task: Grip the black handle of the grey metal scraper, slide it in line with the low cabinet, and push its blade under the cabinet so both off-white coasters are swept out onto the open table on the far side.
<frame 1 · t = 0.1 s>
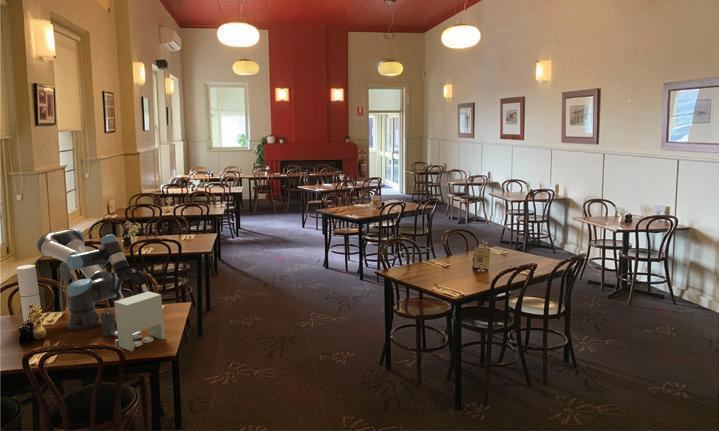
hand: (136, 299, 292), 15 cm above the table, tool tilted 35°, fingers open, 13 cm apart
container: (33, 321, 310), on the table
scraper: (109, 334, 288), on the table
coaster 1: (136, 345, 274), on the table
cabinet: (142, 342, 276), on the table
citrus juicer: (70, 315, 318), on the table, touching arm
coaster 2: (148, 341, 279), on the table
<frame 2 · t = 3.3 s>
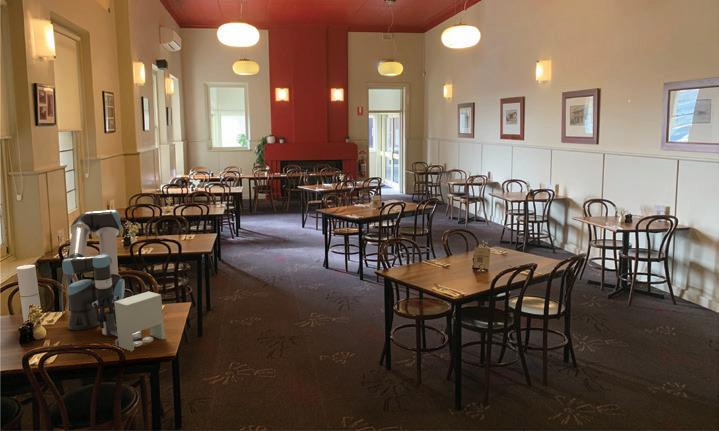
hand: (109, 332, 288), 1 cm above the table, tool pointing down, fingers closed on scraper, 4 cm apart
scraper: (109, 334, 288), on the table, touching gripper
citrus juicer: (70, 315, 318), on the table
everything else where it was.
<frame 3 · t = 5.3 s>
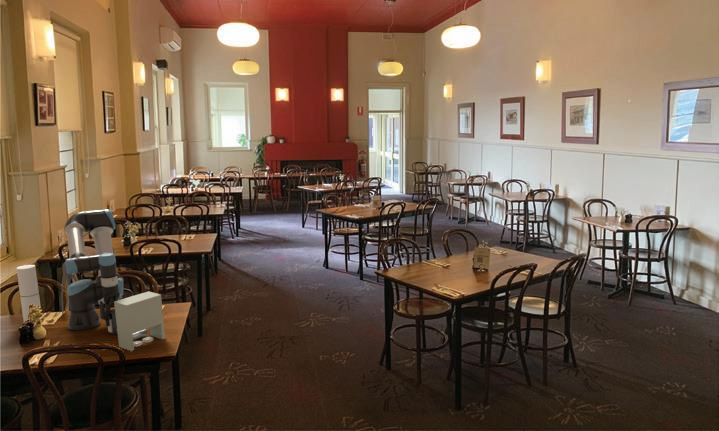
hand: (114, 330, 290), 1 cm above the table, tool pointing down, fingers closed on scraper, 4 cm apart
scraper: (115, 332, 290), on the table, touching gripper
everything else where it was.
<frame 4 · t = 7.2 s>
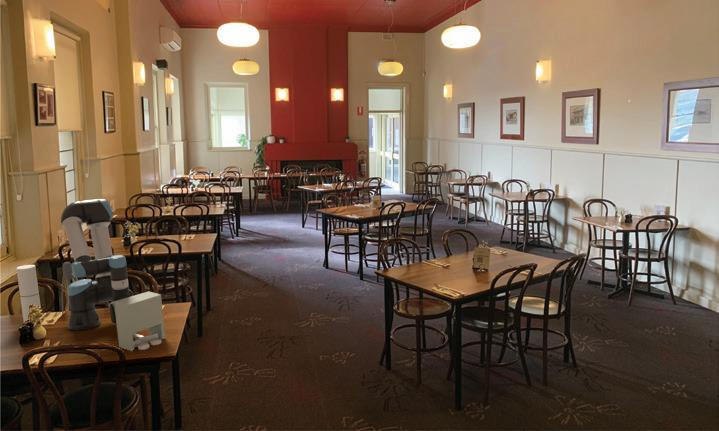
hand: (125, 333, 284), 2 cm above the table, tool pointing down, fingers closed on scraper, 4 cm apart
scraper: (125, 335, 284), on the table, touching gripper
coaster 1: (143, 347, 270), on the table
coaster 2: (156, 343, 275), on the table
everything else where it was.
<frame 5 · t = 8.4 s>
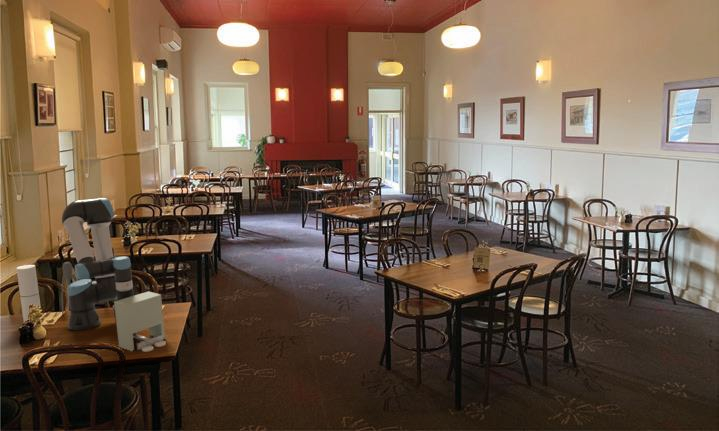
hand: (129, 335, 282), 1 cm above the table, tool pointing down, fingers closed on scraper, 4 cm apart
scraper: (129, 337, 282), on the table, touching gripper
coaster 1: (147, 350, 268), on the table
coaster 2: (160, 345, 273), on the table
everything else where it was.
when the fingers open (1 cm above the table, at t = 10.5 s): scraper stays where it is, on the table.
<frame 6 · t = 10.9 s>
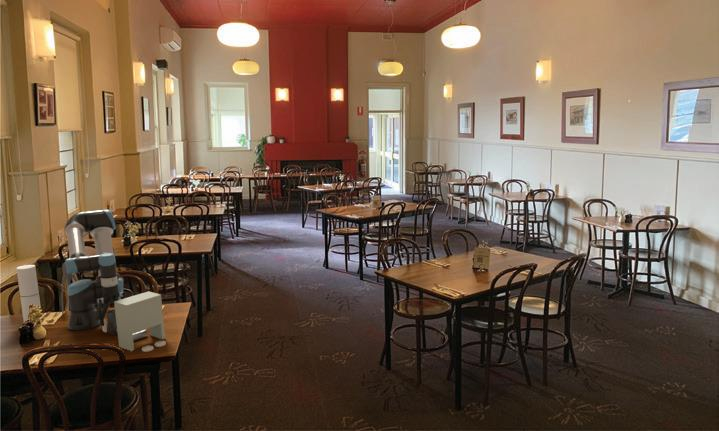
hand: (114, 328, 290), 2 cm above the table, tool pointing down, fingers open, 9 cm apart
scraper: (115, 332, 290), on the table
everything else where it was.
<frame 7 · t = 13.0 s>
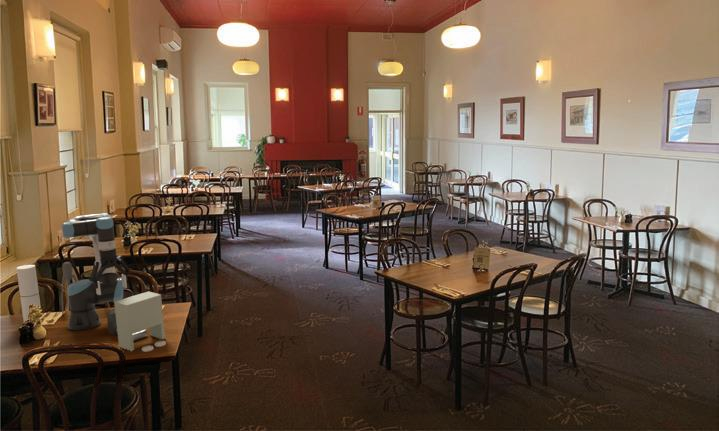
hand: (112, 290, 287), 21 cm above the table, tool pointing down, fingers open, 13 cm apart
nothing on the table moved.
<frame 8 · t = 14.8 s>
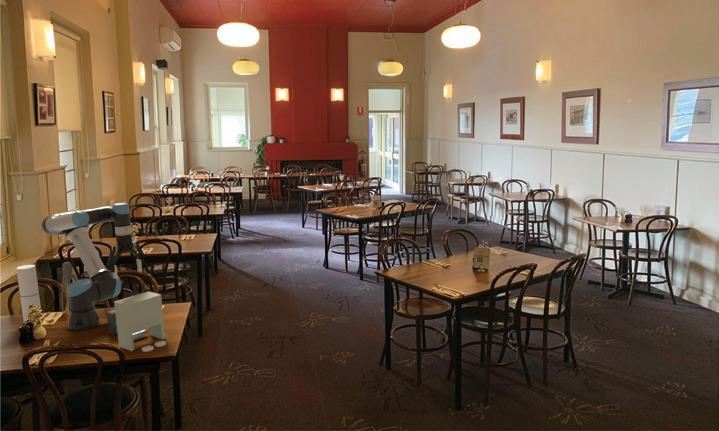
hand: (127, 275, 295), 27 cm above the table, tool pointing down, fingers open, 13 cm apart
nothing on the table moved.
at the end: coaster 1 inside the target area (4.1 cm from its centre), on the table; coaster 2 inside the target area (3.9 cm from its centre), on the table; the gripper is holding nothing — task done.
